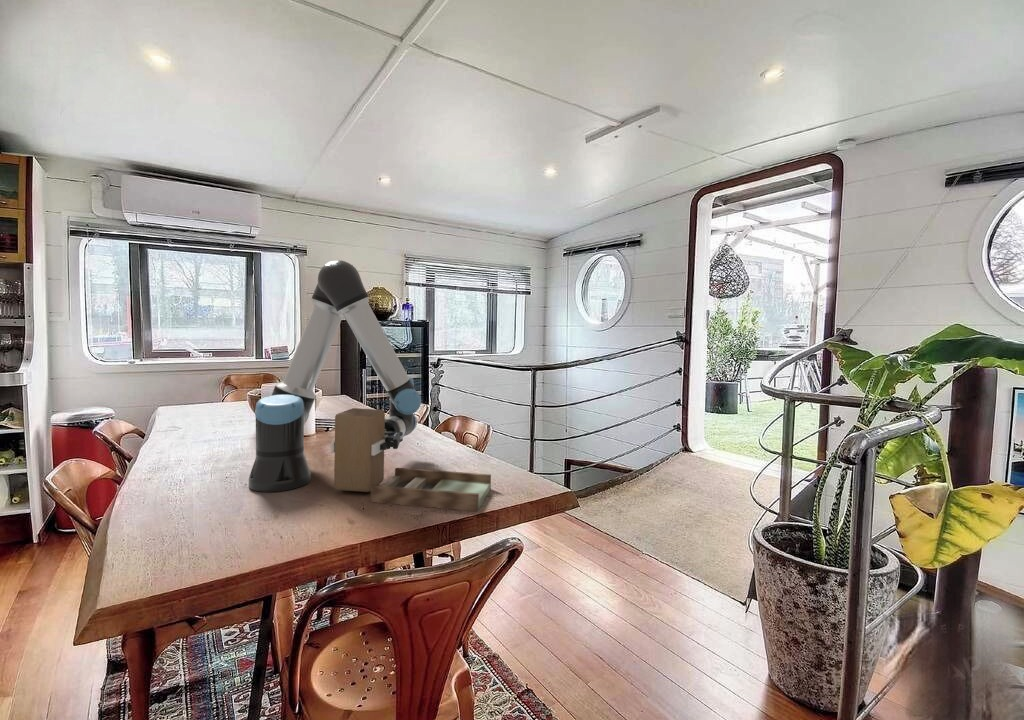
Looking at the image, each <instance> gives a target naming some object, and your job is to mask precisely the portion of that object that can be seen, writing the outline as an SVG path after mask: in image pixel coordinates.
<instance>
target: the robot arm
mask: <svg viewBox="0 0 1024 720" xmlns="http://www.w3.org/2000/svg"><path fill="white" fill-rule="evenodd" d="M310 300H311V303H312V304H313V308H312V311H311V312H310V316H309V317H308V318H309V319H308V320H307V322H306V325H305V328H304V329H303V332H302V335H301V337H300V340H299V342H298V345H297V347H296V349H295V352H294V354H293V356H292V360H291V362H290V363H289V367H288V369H287V371H286V373H285V376H284V379H283V380H282V381H280V382H277V383H276V384H275V386H274V388H273V390H272V392H271V395H269V396H265V397H262V398H260V399H259V400H258V401H256V403H255V410H254V416H255V458H254V462H253V464H252V467H251V471H250V473H249V475H248V476H249V477H248V488H249V489H250V490H253V491H256V492H264V493H268V492H269V493H273V492H281V491H282V492H285V491H290V490H293V489H298V488H302V487H304V486H305V485H307V484H309V483H310V482H311V479H312V477H311V476H312V475H311V469H310V468H309V467H310V466H309V464H308V460H307V458H306V456H305V444H304V443H305V442H304V441H305V440H304V439H305V437H304V436H305V435H304V434H305V431H304V430H305V424H306V423H307V421H308V419H309V416H310V412H311V409H312V408H313V405H314V403H315V399H316V395H315V392H314V388H315V386H316V384H317V380H318V378H319V376H320V373H321V371H322V369H323V366H324V364H325V361H326V359H327V357H328V354H329V351H330V349H331V346H332V344H333V342H334V339H335V336H336V334H337V332H338V329H339V326H340V324H341V322H342V319H343V318H344V319H345V321H346V322H347V324H348V325H349V327H350V329H351V331H352V333H353V334H354V336H355V338H356V340H357V342H358V344H359V345H360V347H361V349H362V350H363V352H364V354H365V355H366V358H367V359H368V361H369V364H371V366H372V368H373V369H374V372H375V373H376V375H377V377H378V379H379V380H380V383H381V384H382V385H383V388H384V389H385V391H386V392H387V395H388V397H389V410H388V411H389V417H385V432H384V439H382V440H380V441H378V442H376V443H374V444H373V445H372V449H371V455H372V456H374V455H376V454H378V453H380V452H381V451H383V450H384V451H385V450H390V449H391V448H392V449H393V450H397V449H398V448H399V446H400V443H401V442H403V438H404V437H407V436H408V435H410V434H411V433H412V432H414V430H415V429H416V428H417V425H418V419H417V416H416V415H415V413H417V412H418V410H419V409H420V408H421V406H422V405H421V404H422V399H421V398H422V397H421V396H420V394H419V391H417V390H416V388H415V382H414V378H413V377H411V376H409V375H408V374H407V371H406V370H405V368H404V366H403V364H402V362H401V360H400V359H399V357H398V355H397V354H396V352H395V350H394V347H393V345H392V344H391V341H390V340H389V339H388V337H387V335H386V333H385V332H384V329H383V328H382V326H381V324H380V322H379V320H378V318H377V317H376V315H375V313H374V311H373V309H372V307H371V305H370V304H369V300H370V296H369V294H368V293H367V290H366V288H365V286H364V284H363V281H362V278H361V275H360V273H359V271H358V269H357V268H356V267H355V266H354V265H353V264H351V263H350V262H347V261H345V260H342V259H341V260H339V259H337V260H331V261H328V262H326V263H325V264H324V265H323V266H322V267H321V268H320V270H319V272H318V275H317V284H316V286H315V288H314V291H313V294H312V297H311V299H310ZM330 444H331V446H330V448H331V449H330V452H331V453H334V454H335V440H333V441H331V443H330Z"/></svg>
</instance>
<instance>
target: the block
mask: <svg viewBox="0 0 1024 720" xmlns="http://www.w3.org/2000/svg"><path fill="white" fill-rule="evenodd" d="M385 419H386V413H385V410H382V409H376V408H375V409H372V408H355V407H353V408H350V409H346V410H344V411H341V412H338V413H336V414H335V417H334V441H335V452H334V472H333V473H334V474H333V476H334V478H333V481H334V485H333V486H334V490H337V491H348V492H362V493H369V492H371V486H372V485H378V486H380V484H381V483H383V481H384V476H385V475H384V474H385V450H383V451H381V452H380V453H378V454H376V455H374V456H372V455H371V449H372V445H373V444H374V443H376V442H378V441H380V440H382V439H384V432H385Z"/></svg>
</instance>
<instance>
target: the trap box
mask: <svg viewBox="0 0 1024 720" xmlns="http://www.w3.org/2000/svg"><path fill="white" fill-rule="evenodd" d="M394 469H395V470H394V476H393V477H391V478H390V479H389V480H387V481H386V482H385V483H384V484H382V485H372V486H371V491H370V503H373V502H377V503H376V504H385V503H390V504H389V505H397V504H400V505H399V506H409V505H410V507H420V506H424V507H425V508H432V507H438V508H437V509H444V508H448V510H455V511H456V510H457V511H468V512H469V511H470V512H478V511H479V510H480V508H481V507H482V504H483V503H484V502H485V499H486V498H487V496H488V495H489V493H490V491H491V489H492V488H491V487H492V486H491V485H492V483H491V482H492V474H490V473H489V474H488V473H475V472H460V471H449V470H448V471H447V470H435V469H434V470H433V469H419V468H407V467H406V468H405V467H395V468H394ZM488 492H489V493H488ZM424 507H423V508H424ZM439 507H440V508H439Z"/></svg>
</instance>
